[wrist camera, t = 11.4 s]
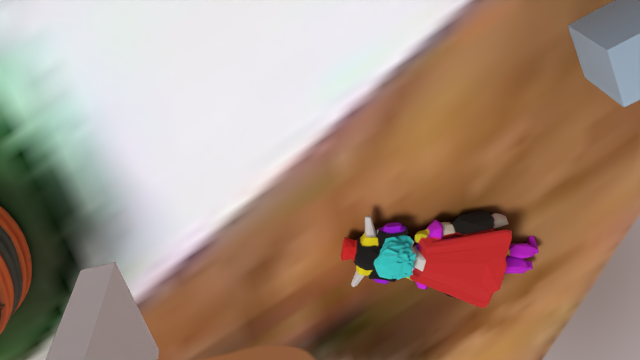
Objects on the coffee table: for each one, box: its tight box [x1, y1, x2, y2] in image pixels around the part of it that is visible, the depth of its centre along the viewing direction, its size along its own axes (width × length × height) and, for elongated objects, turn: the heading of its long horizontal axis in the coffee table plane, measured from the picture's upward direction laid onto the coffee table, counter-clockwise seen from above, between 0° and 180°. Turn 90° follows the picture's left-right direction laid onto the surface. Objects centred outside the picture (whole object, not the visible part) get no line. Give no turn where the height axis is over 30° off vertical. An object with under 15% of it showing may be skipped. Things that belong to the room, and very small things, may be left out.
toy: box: [341, 211, 539, 308], centre depth 44 cm, size 8×4×15 cm
